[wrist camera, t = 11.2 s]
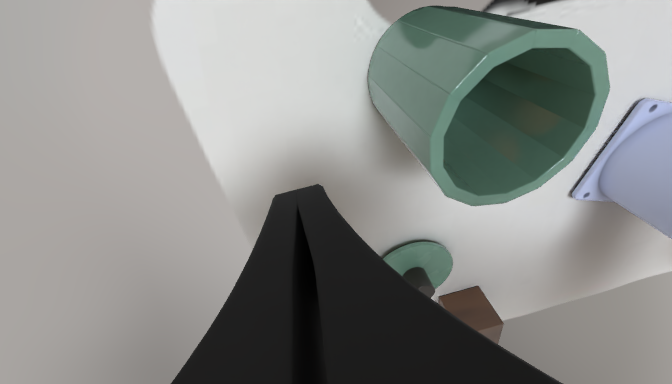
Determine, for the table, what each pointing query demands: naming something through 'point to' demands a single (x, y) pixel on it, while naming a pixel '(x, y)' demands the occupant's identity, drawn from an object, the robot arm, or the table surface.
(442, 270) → the lid
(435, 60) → the tin
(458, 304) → the block
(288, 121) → the table surface
